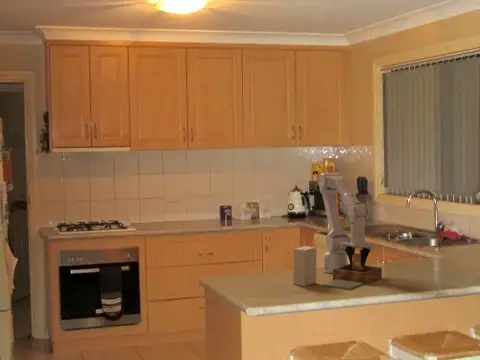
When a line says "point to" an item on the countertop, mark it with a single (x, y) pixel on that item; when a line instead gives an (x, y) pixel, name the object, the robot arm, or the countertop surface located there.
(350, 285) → the slate tile
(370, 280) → the walnut crate
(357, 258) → the maple spool
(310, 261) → the skincare box
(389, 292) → the countertop surface
